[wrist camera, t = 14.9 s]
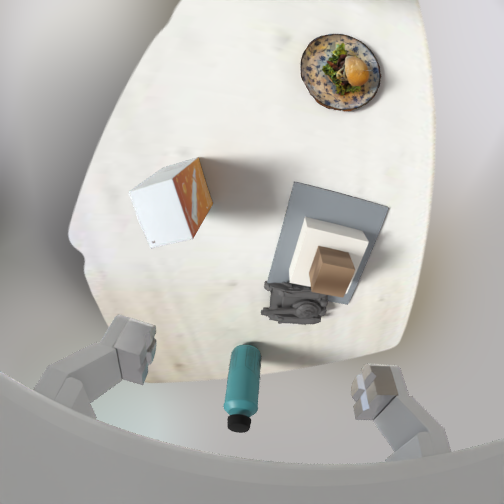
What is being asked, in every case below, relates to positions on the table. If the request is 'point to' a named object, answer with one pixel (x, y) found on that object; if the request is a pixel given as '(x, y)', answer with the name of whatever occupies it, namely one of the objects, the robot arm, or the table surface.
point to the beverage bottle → (242, 387)
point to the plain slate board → (329, 210)
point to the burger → (340, 72)
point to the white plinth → (324, 236)
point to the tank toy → (294, 304)
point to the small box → (172, 203)
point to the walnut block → (331, 272)
